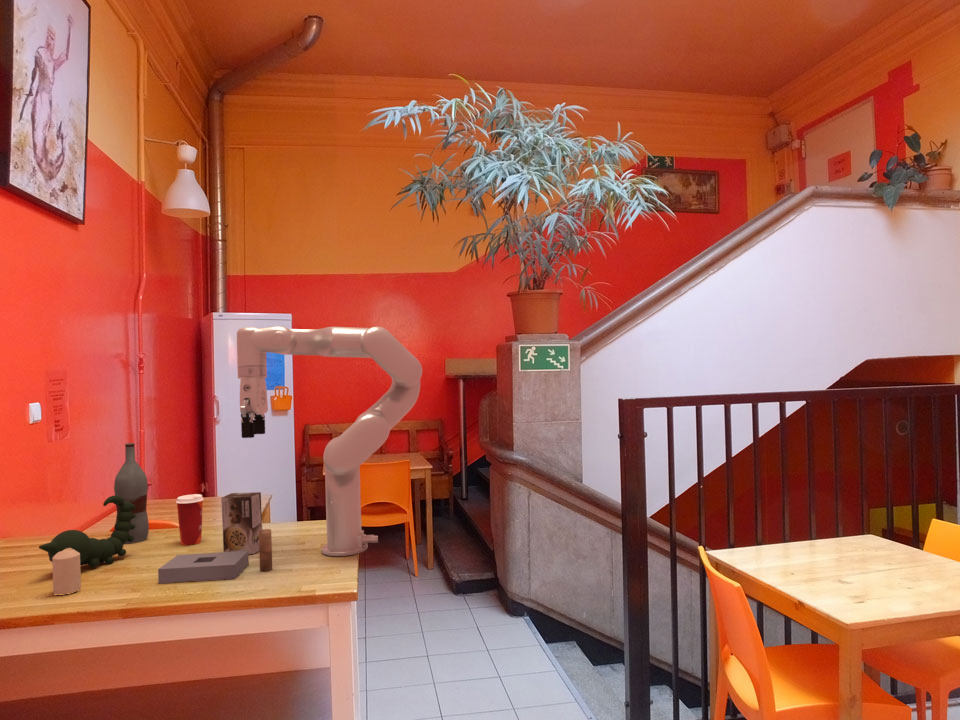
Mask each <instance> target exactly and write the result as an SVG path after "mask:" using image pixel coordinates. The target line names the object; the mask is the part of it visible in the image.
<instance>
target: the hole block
mask: <svg viewBox="0 0 960 720" xmlns="http://www.w3.org/2000/svg"><path fill="white" fill-rule="evenodd" d="M249 562H250V561H249V554H248V551H237V552H224V551H223V552H207V553H205V552H203V553H189V554H188V553H185V554H176V556H173V558H171V559H170V560H169V561H167V562H166V563H164V564H163V565H161V567H159V568H158V569H157V571H158V574H157V575H158V577H157V578H158V584H175V583H174V582H178V583H189V582H188V581H195V582H207V581H209V580H211V581H223V580H224V579H225V580H227V581H228V580H236V579H237V577H238V576H239V575H240V574H241V573H242V572H243V571H244V570H245V569H246V568H247V567H248V566H249Z"/></svg>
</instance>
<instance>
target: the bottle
mask: <svg viewBox="0 0 960 720" xmlns="http://www.w3.org/2000/svg"><path fill="white" fill-rule="evenodd" d="M124 447H125V450H124V452H125V453H124V455H125V458H124V459H125V460H124V463H123V464H122V466H121V467H120V469H119V471H118V472H117V474H116V475H115V479H114V485H113V490H114V491H113V492H114V496H115V495H118V496H121V497H123V499H124V502H125V501H128V502H130V503H132V504H133V505H135V508H134V509H132V511H131V512H132V513H134V514H135V515H136V516H135V518H133V519H131V521H130V522H131V524H134V525H135V528H134V529H130V531H129V534H130V536H133V537H134V540H133V541H132V542H128V541H127V542H126V543H125V544H124V545H130V544H137V543H142V542H145V541H147V540H148V537H149V531H150V529H149V528H150V524H149V523H150V522H149V517H148V512H147V506H148V504H147V503H148V501H147V500H148V490H149V489H148V488H149V484H148V478H147V474H146V473H145V471H144V469H143V468H142V467H141V466H140V464H138V462H137V460H136V450H135V449H136V447H135V443H134V442H128V443H127V442H126V443H125V444H124ZM115 507H116V515H117V514H118V512H119V506H117V505H115ZM117 521H118V520H117V516H116V519H115V523H116V522H117Z"/></svg>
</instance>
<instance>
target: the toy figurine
mask: <svg viewBox="0 0 960 720" xmlns="http://www.w3.org/2000/svg"><path fill="white" fill-rule="evenodd" d="M109 504H113V505H115V506H116V505H117V506H119V512H118V514H117V513H116V517H117V520H118V521H117V522H116V521H115V523H114V527H113V529H114V530H112V532H111V534H110V536H109V537H107V538H101V539H98V538H96V537H89V536H88V535H87V534H86V532H83V531H81V530H79V529H69V530H64V531H62V532H60V533H58V534H57V535H55V536H54V537H53V539H51V541H50V542H48V543H44V544H41V545H38V549H40V550H43V551H44V552H46V553H47V554H48V555H47V556H48V558H49V559H48V560H49V561H50V562H51V563H52V558H53V557H54V556H55V555H56V554H57V553H58V552H61V551H63V550H64V549H67V548H72V549H74V550H75V551H77V552H79V553H80V567H82V566H85V565H87V566H88V567H90V568H92V569H94V568H97V567H98V566H99V564H100V563H105V564H107V565H111V564H112V563H114V556H115V555H117V556H118V557H124V556H126V553H127V550H126V549H125V548H124V545H126V544H125V543H126V542H127V541H128V542H132V541H133V540H134V537H133V536H130V534H129V531H130V529H134V528H135V525H134V524H131V522H130V521H131V519H133V518H135V516H136V515H135V514H134V513H132V512H131V511H132V509H134V508H135V505H133V504H132V503H130V502H128V501H125V502H124V499H123V497H121V496H118V495H115V494H114V495H111V496H108V498H106V499H105V500H104V501H103V504H102V505H103V507H106V506H107V505H109ZM110 563H111V564H110Z"/></svg>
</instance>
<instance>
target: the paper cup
mask: <svg viewBox="0 0 960 720" xmlns="http://www.w3.org/2000/svg"><path fill="white" fill-rule="evenodd" d="M204 499H205V498H204V497H203V494H200V493H199V494H198V493H194V494H186V495H181V496H178V497H177V498H176V501H175V503H176V506H177V519H178V527H179V538H180V545H181V546H187V547H188V546H193V545H194V544H195V545H199V544H200V543H202V532H203V531H202V530H203V506H204V504H203V502H204ZM195 545H194V546H195Z"/></svg>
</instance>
